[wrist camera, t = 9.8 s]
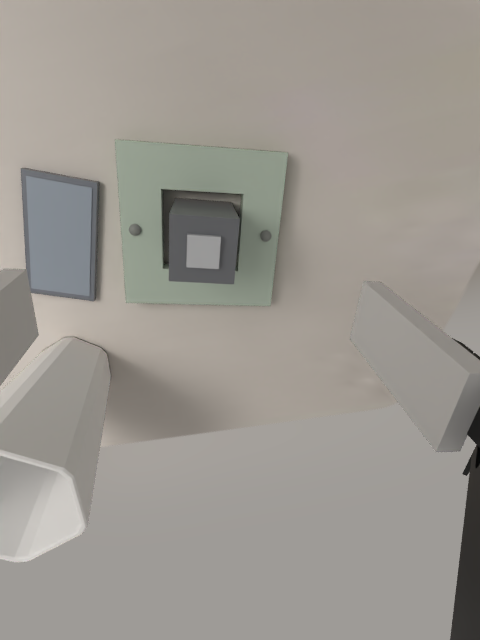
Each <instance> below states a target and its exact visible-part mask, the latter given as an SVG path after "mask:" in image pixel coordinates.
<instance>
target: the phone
mask: <svg viewBox="0 0 480 640" xmlns="http://www.w3.org/2000/svg"><path fill="white" fill-rule="evenodd" d="M21 181H22V200H23V218H24V237H25V256H26V270H27V275H28V280H29V286H30V291H31V293H37V294H44V295H52V296H59V297H67V298H74V299H82V300H89V301H94V300H95V299H96V273H97V242H98V210H99V182H98V181H93V180H87V179H82V178H76V177H71V176H66V175H60V174H55V173H49V172H44V171H39V170H33V169H28V168H21Z"/></svg>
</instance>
